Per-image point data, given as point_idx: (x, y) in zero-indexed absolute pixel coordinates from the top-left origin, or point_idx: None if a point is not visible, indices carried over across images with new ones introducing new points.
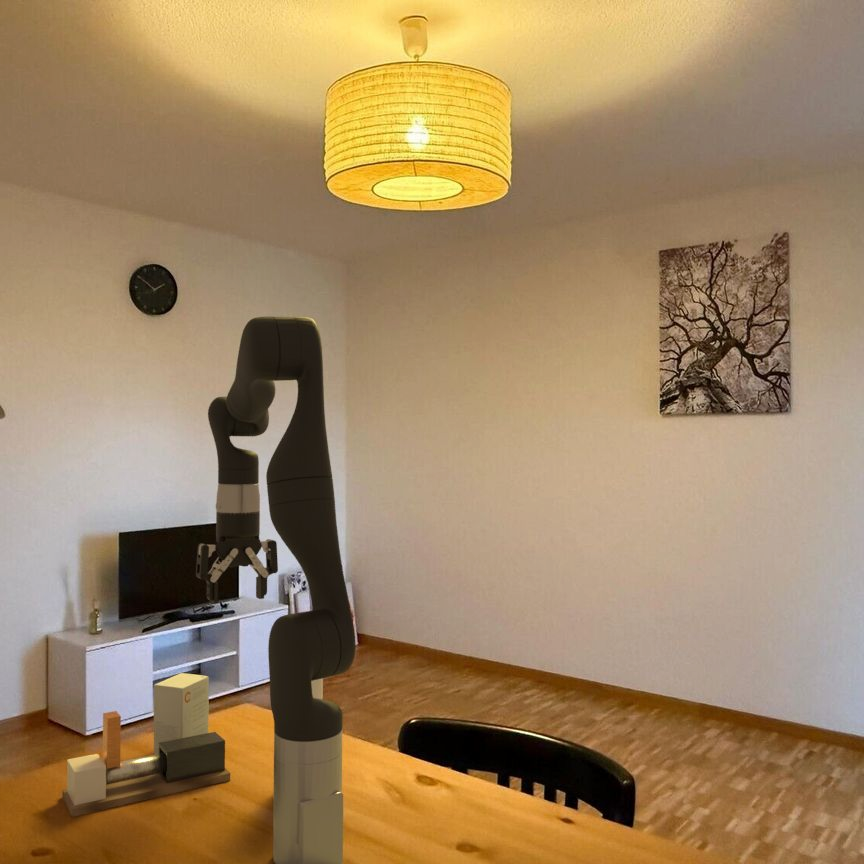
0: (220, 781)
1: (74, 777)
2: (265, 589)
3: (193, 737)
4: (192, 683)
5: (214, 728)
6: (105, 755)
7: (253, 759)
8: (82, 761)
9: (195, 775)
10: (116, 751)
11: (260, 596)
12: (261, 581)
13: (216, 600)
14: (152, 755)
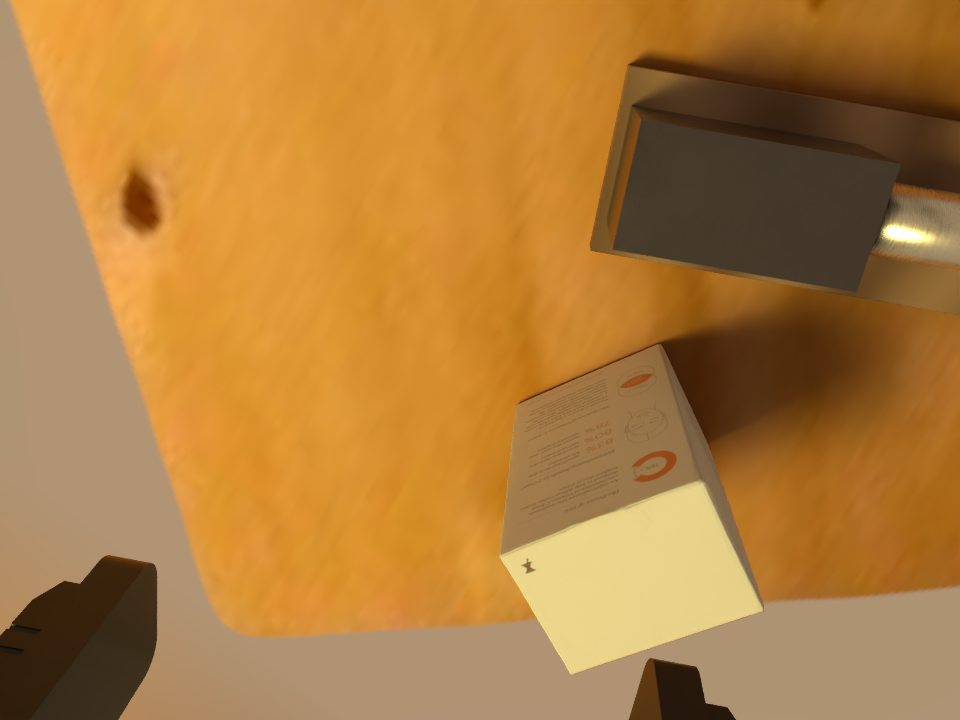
0: (667, 71)
1: None
2: (33, 626)
3: (717, 250)
4: (621, 511)
5: (416, 530)
6: None
7: (454, 187)
8: None
9: (749, 125)
10: None
11: (141, 576)
12: (30, 703)
13: (672, 675)
14: (909, 234)
